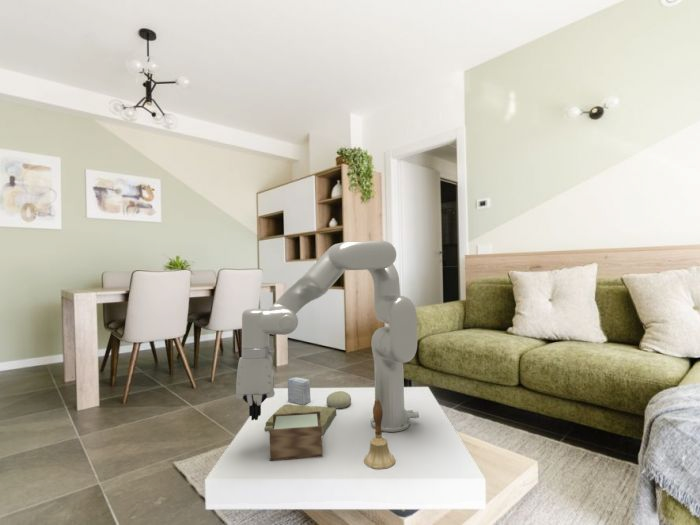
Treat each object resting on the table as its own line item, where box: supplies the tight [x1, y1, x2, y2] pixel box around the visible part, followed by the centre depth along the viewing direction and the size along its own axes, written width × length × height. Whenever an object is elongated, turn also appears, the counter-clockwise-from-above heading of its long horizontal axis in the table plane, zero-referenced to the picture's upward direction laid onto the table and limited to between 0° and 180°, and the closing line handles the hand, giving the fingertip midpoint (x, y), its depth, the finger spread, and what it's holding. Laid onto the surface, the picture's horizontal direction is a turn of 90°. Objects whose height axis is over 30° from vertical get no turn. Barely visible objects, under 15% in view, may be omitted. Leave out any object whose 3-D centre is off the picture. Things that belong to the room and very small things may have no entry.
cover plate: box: [274, 414, 318, 429], centre depth 105 cm, size 12×9×2 cm
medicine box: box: [287, 376, 311, 406], centre depth 142 cm, size 8×4×9 cm, turn 58°
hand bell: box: [363, 399, 396, 470], centre depth 97 cm, size 8×8×16 cm
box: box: [269, 411, 323, 462], centre depth 104 cm, size 14×11×8 cm
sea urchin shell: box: [326, 390, 352, 409], centre depth 138 cm, size 9×8×8 cm
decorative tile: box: [264, 403, 337, 437], centre depth 122 cm, size 19×20×4 cm
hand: (255, 418), depth 103 cm, fingers closed
